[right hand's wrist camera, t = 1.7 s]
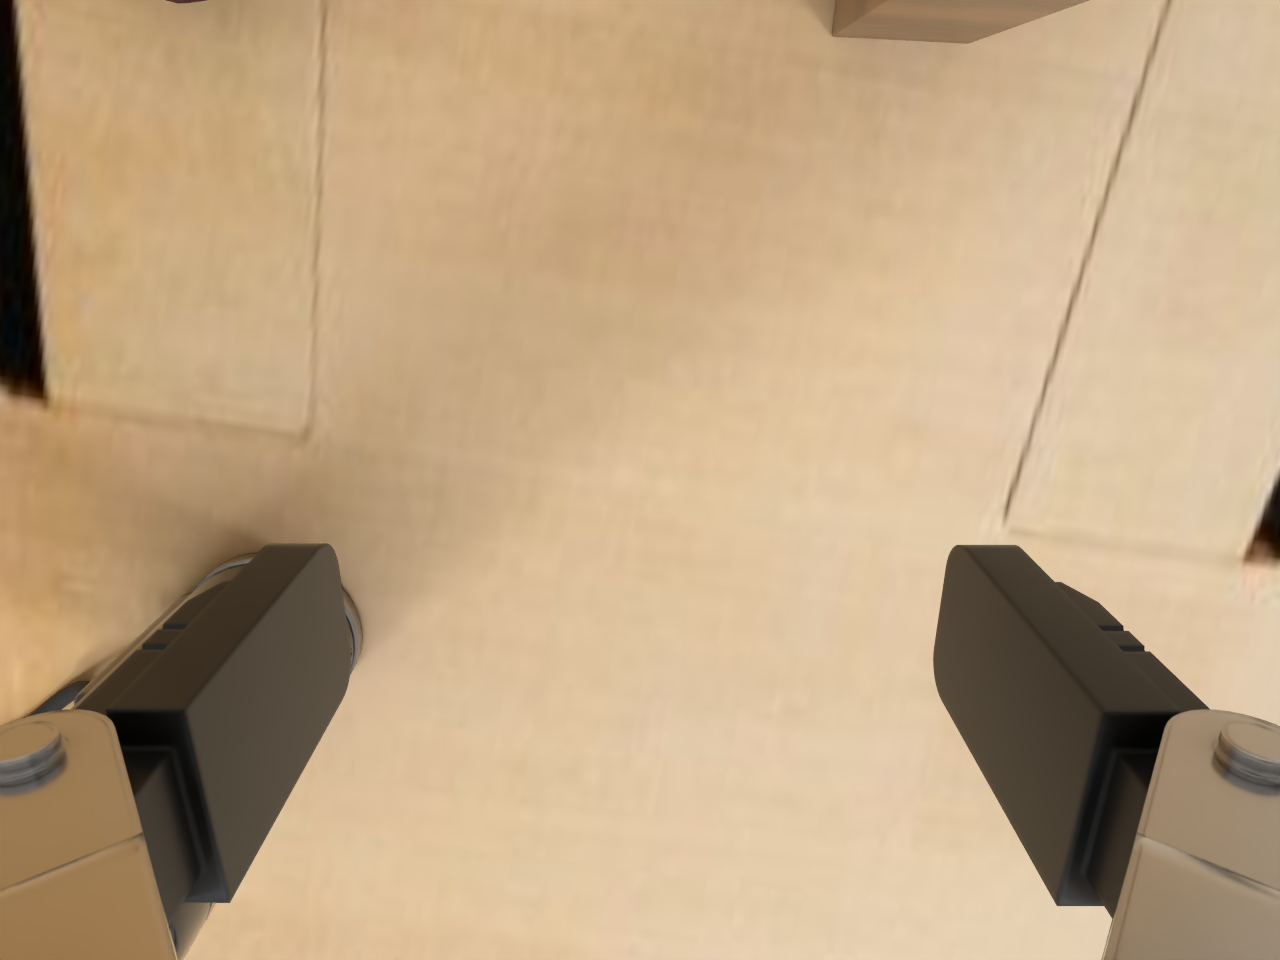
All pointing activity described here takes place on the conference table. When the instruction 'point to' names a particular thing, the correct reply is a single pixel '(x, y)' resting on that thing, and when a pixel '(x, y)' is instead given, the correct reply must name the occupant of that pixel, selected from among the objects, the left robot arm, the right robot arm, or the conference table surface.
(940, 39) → the box
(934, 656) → the right robot arm
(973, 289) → the conference table surface
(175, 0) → the dark maroon plum
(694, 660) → the conference table surface
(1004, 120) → the conference table surface
